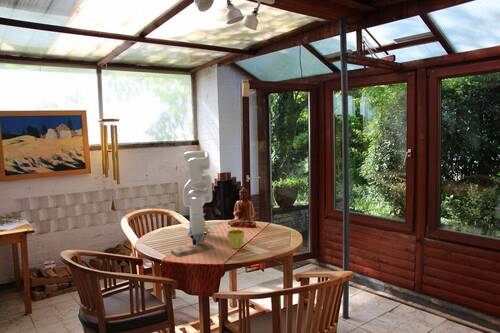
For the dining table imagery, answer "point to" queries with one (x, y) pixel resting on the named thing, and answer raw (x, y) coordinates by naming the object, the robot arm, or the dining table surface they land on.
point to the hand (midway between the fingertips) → (198, 244)
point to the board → (191, 249)
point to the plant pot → (236, 238)
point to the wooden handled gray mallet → (200, 240)
